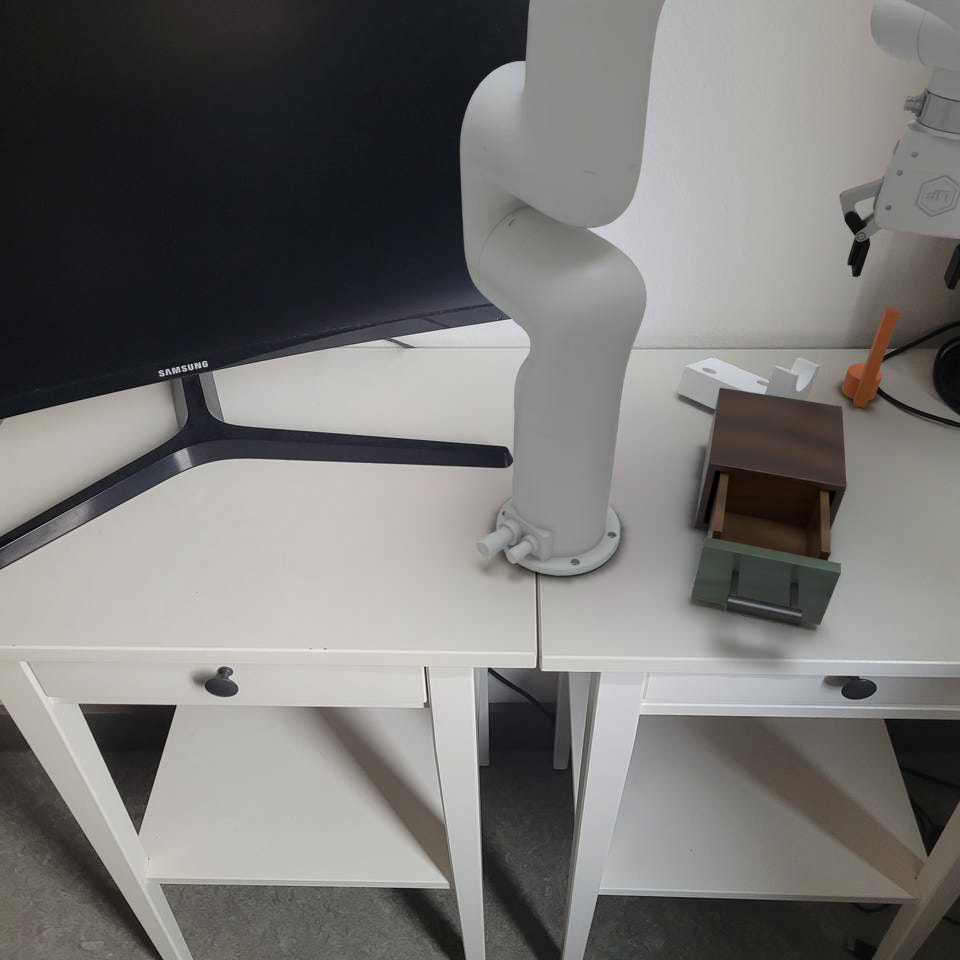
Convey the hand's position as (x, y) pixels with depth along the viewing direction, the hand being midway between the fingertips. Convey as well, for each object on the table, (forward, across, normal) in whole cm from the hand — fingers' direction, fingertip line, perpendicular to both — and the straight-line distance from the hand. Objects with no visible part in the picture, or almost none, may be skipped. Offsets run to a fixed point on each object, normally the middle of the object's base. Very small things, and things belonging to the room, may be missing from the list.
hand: (901, 278), depth 90 cm
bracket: (+17, -14, -4) cm, 22 cm away
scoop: (+17, 0, +2) cm, 17 cm away
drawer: (+17, -10, -34) cm, 40 cm away
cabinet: (+17, -10, -21) cm, 29 cm away
